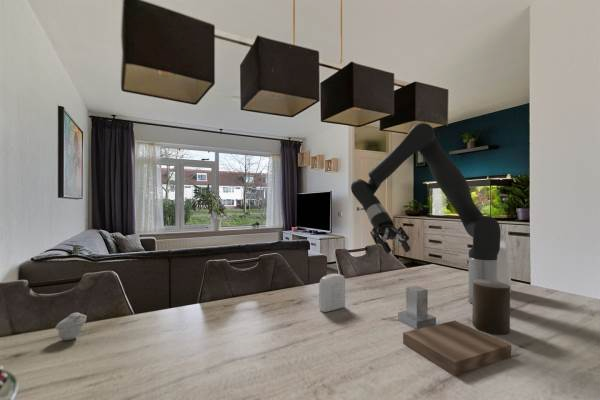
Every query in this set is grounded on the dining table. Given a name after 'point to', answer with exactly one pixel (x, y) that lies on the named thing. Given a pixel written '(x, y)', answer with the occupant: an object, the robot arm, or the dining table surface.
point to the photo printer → (331, 292)
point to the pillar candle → (491, 306)
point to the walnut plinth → (456, 346)
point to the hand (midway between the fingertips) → (399, 251)
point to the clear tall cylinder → (503, 262)
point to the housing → (417, 309)
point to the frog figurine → (71, 326)
